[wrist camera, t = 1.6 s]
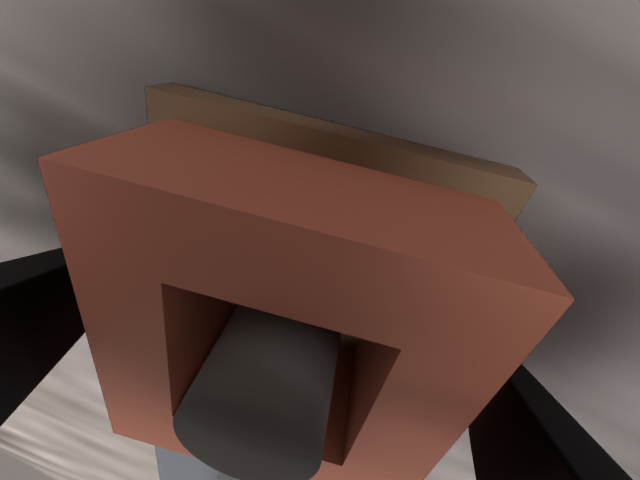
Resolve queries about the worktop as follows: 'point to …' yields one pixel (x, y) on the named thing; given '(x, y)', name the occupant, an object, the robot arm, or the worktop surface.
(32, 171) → the worktop surface
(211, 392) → the stand
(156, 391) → the pink square frame
